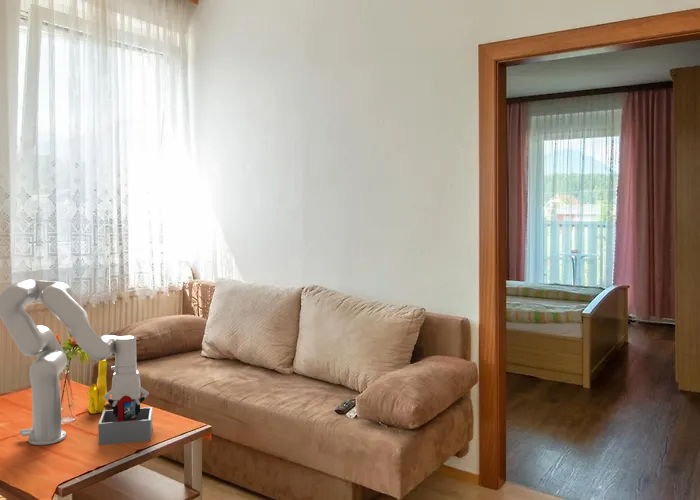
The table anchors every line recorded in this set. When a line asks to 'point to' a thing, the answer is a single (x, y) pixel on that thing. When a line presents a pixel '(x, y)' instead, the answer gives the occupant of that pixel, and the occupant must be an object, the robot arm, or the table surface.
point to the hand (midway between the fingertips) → (126, 414)
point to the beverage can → (126, 409)
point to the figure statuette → (98, 390)
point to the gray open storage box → (125, 428)
